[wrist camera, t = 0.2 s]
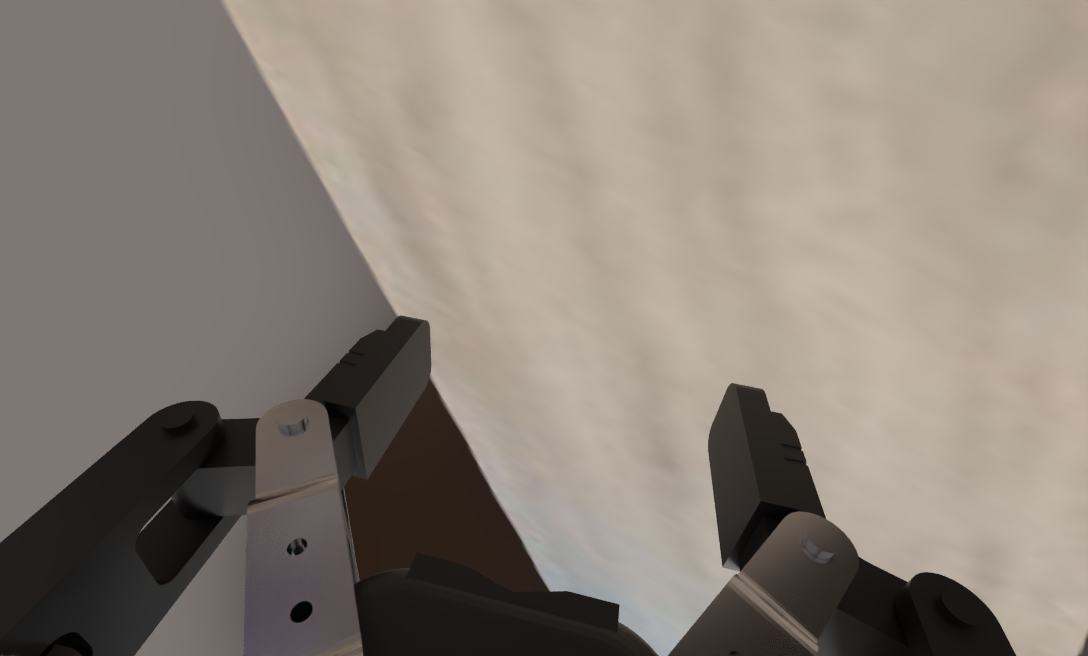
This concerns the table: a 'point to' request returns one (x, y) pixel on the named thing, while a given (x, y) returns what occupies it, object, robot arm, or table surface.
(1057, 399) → the table surface
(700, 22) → the table surface
